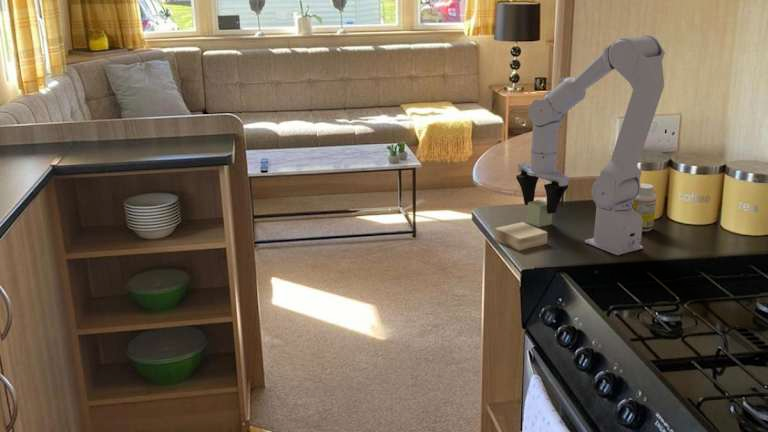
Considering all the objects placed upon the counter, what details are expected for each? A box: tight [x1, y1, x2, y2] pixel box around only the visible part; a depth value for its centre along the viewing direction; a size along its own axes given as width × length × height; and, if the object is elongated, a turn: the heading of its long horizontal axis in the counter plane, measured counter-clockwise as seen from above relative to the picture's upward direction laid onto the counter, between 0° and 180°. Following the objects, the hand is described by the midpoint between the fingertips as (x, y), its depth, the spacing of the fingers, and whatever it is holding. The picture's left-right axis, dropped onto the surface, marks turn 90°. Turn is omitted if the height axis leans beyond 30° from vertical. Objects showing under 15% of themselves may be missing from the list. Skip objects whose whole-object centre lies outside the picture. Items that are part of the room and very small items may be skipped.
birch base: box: [493, 221, 548, 251], centre depth 172 cm, size 8×8×3 cm
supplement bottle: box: [632, 182, 657, 233], centre depth 179 cm, size 6×6×10 cm
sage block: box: [526, 199, 553, 228], centre depth 183 cm, size 4×4×5 cm
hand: (539, 208), depth 183 cm, fingers open, 7 cm apart
